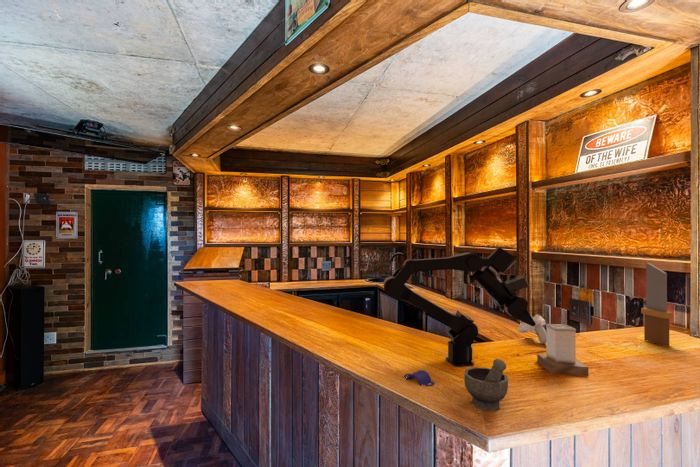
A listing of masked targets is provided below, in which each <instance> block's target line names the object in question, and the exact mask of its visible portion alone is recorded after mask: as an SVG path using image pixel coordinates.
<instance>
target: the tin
mask: <svg viewBox="0 0 700 467" xmlns="http://www.w3.org/2000/svg"><path fill="white" fill-rule="evenodd" d="M545 328H546V332H547V343H546V354H547V357H548V358H550V359H551V360H553V361H554V362H555V363H576V359H577V358H576V357H577V356H576V351H577V350H576V349H577V348H576V347H577V346H576V343H577V342H576V340H577V339H576V333H577V329H576V327H575V328H574V327H573V326H570V325H568V324H561V323H556V324H555V323H546V324H545Z"/></svg>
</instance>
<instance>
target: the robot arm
mask: <svg viewBox="0 0 700 467" xmlns="http://www.w3.org/2000/svg"><path fill="white" fill-rule="evenodd" d="M515 263H517V260H516V258H515V257H514V256H513V255H512V254H511V253H510V252H508V251H507V250H505V249H504V248H502V247H501V246H496V248H494V250H493V251H492V252H491V253H490V255H488V256H487V257H484V256H481V257H480V256H479V255H478V254H477V253H474V252H462V253H457V254H454V255H452V256H447V257H435V258H434V257H431V258H420V259H419V258H418V259H412V258H408V259H406V260H405V261H404V262H403V263H402V265H401V266H400V267H399V268H398V269H396V271H395V272H394V273H393V274H392V275H390V276H387V277H385V279H384V281H383V282H382V283H383V284H382V286H383V291H384V292H385V294H386V296H389V297H391V298H394V299H397V300H400V301H403V302H406V303H408V304H411V305H412V306H414V307H416V308H417V309H419V310H421V311H423V312H425V313H426V314H427V315H429V316H431V317H433V318H435V319H436V320H438V321H440V322H442V323H444V324H445V325H447V327H449V328H450V329H449V330H448V331H447V332H446V333H447V336H448V338H449V340H448V342H447V357H445V360H446V361H448V362H449V363H450V364H452V365H453V366H454V367H463V366H474V365H475V362H473V347H472V346H473V343H474V340H475V339H476V338H477V337H478V334H479V328H478V326H477V324H476V323H474V322H475V321H474V320H473V319H472V317H470V316H468V315H465V314H463V313H462V312H460V311H459V310H456V312H455V313H453V312H451V311H448V310H446V309H445V308H444V307H441V306H440V305H438V304H436V303H434V302H432V301H431V300H429V299H427V298H425V296H423V295H421V294H419V293H417V292H415V291H414V290H412V289H411V288H410V287H409V286H407V284H406V283H408V280H409V279H410V278H411V276H412V275H413V274H414V273H416V272H429V271H430V272H431V271H443V270H444V271H445V270H446V271H447V270H452V271H460V272H469V274H467V281H466V282H467V283H468V284H473V283H474V282H476V284H478V286H480V287H481V288H482V289H483V290H484V291H485V293H486V294H487V295H489V297H490V298H492V299H491V301H492V303H494V305H495V306H497V307H498V308H500V310H502V311H505V313H506V314H508V315H509V316H510V317H512V318H513V319H516V320H518V321H520V322H521V323H526V324H529V325H531V326H535V325H536V323H535V322H534V320H533V319H532V318H533V316H531V313H530V312H529V311H528V307H529V303H530V302H529V301H528V300H527V299H526V298H525V297H524V296H521V295H517V292H518V291H520V290H522V289H527V288H529V287H530V285H529V283H528V281H527V278H526V277H525V276H524V275H515V274H513V273H511V274H509V275H507V280H505V281H504V280H502V279H500V278H499V277H498V276H497V275H498V274H501V275H503V274H505V272H506V271H508V270H509V269H510V268H511V267H512V266H513V265H514V264H515ZM470 272H471V273H472V274H470Z"/></svg>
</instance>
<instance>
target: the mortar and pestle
mask: <svg viewBox="0 0 700 467" xmlns="http://www.w3.org/2000/svg"><path fill="white" fill-rule="evenodd" d="M505 370H507V363H506V362H505V361H504V360H502V359H500V358H495V359H494V360H493V361H492V366H491V367H490V368H488V367H477V366H476V367H473V366H472V367H470V368H467V369H464V374H463V376H464V377H463V378H464V379H463V380H464V385H465V388H466V390H467V393H468V394H470V396H472V399H471V400H472V401H471V402H472V403H471V404H472V405H473V406H474V407H475V408H477V409H480V410H483V411H488V412H489V411H490V412H495V411H497V410H500V408H501V407H500V406H501V405H500V404H501V403H500V402H501V401H502V400H503V399H505V397H506V395H507V394H508V389H509V388H508V387H509V378H508V375H507V374H505V373H504V371H505Z"/></svg>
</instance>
